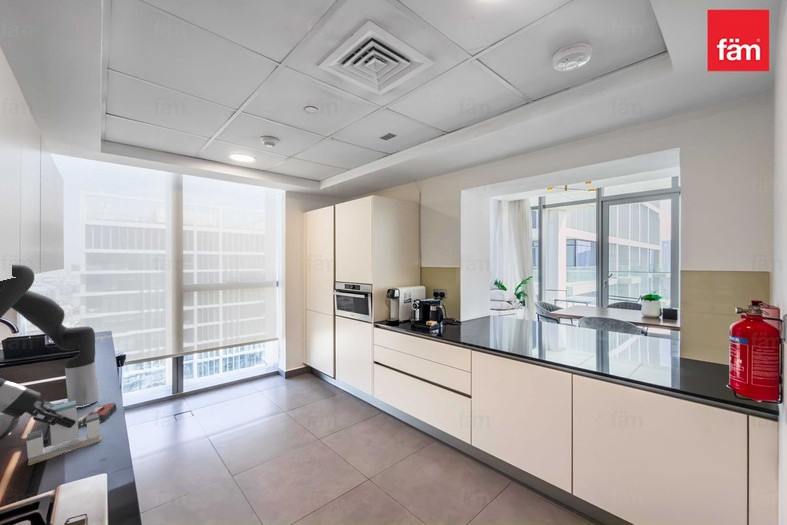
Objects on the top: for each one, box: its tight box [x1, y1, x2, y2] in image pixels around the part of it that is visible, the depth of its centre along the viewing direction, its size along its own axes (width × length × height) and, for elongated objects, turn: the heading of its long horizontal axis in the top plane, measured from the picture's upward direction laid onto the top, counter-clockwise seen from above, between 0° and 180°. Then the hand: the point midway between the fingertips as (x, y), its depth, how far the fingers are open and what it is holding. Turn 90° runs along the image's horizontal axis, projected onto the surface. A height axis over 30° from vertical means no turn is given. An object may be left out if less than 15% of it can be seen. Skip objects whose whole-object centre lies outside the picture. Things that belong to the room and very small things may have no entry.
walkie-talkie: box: [77, 402, 117, 427], centre depth 121 cm, size 9×4×20 cm
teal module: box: [49, 400, 80, 446], centre depth 103 cm, size 4×6×11 cm
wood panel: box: [27, 435, 102, 466], centre depth 103 cm, size 7×16×1 cm, turn 135°
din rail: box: [28, 433, 101, 461], centre depth 103 cm, size 5×16×1 cm, turn 135°
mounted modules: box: [25, 413, 102, 460], centre depth 103 cm, size 4×16×6 cm, turn 135°
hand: (72, 422), depth 104 cm, fingers closed on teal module, 4 cm apart
